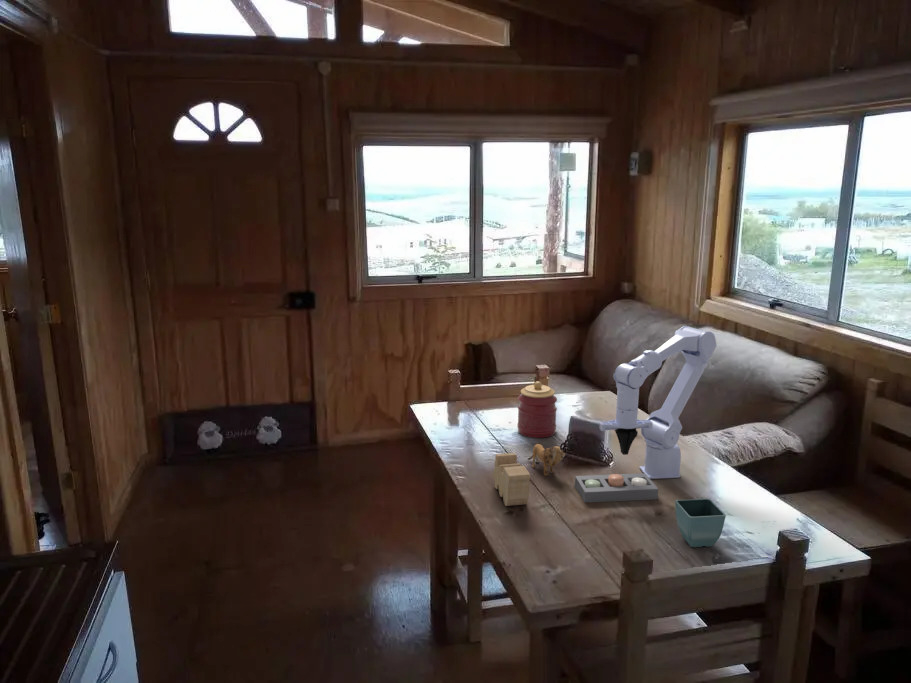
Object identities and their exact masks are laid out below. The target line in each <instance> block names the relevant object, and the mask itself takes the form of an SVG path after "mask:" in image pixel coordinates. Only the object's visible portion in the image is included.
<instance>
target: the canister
mask: <svg viewBox="0 0 911 683" xmlns="http://www.w3.org/2000/svg"><path fill="white" fill-rule="evenodd" d="M555 392H556V391H555V390H554V389H553V388H551V387H550V386H548V385H544V384H542V382H541V381H538V380H537V381H535V382H534V383H533V384H530V385H527V386H525V387H523V388H522V389H521V390H520V393H521V394H520V395H519V396H518V397H517V399H518V401H519V404H518V405H517V410H518V411H517V412H518V414H517V427H516V428H517V431H518V433H519V434H521V436H524V437H529V438H533V439H535V438H536V439H540V438H541V439H543V438H549V437H552V436H554V435H555V433H556V430H557V424H556V423H557V422H556V421H557V410H558V408H557V406H556V403H557V402H558V397H556V396H555Z"/></svg>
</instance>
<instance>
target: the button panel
mask: <svg viewBox="0 0 911 683" xmlns="http://www.w3.org/2000/svg"><path fill="white" fill-rule="evenodd" d="M617 474H618V475H621V476H623V477H624V483H623V486H617V487H610V486H609V485H608V481H609V475H610V474H595V475H594V474H593V475H575V477H574V487H575V489H576V490H577V493H578V494H579V495H580V497H581V499H582V501H583V503H606V502H626V501H630V502H631V501H648V500H653V501H654V500H658V499H659V488H658V486H657V485H656V484H655V483H654V482H653V480H652V479H650V478H649V477H648V476H647V475H646V474H645V473H643V472H640V473H620V474H619V473H617ZM633 478H643V479H645V480H646V481H647V485H640V486H633V485H632V483H631V482H632V479H633ZM590 479H592V480H597V481H599V482H600V487H594V488H586V487H585V481H586V480H590Z"/></svg>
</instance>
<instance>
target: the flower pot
mask: <svg viewBox="0 0 911 683" xmlns="http://www.w3.org/2000/svg"><path fill="white" fill-rule="evenodd" d="M674 504H675V517H676V518H675V519H676V523H677V524H676V525H677V527H678V530H679V532H680V534H681V536H682V537H683V539H684V540H685V541H686V542H687V544H688V545H689V547H691V548H703V547H702V546H706V547H712V546H714V545H715V544H716V543H717V541H718V540H719V538H720V537H721V535H722V533H723V528H724V525H725V521H726V517H727V515H726V513H725V512H724V511H723V510H722V509H720V508H719V506H717V504H716V503H715V502H713V500H712V499H711V498H696V499H695V498H693V499H676V500H674Z"/></svg>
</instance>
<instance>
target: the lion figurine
mask: <svg viewBox="0 0 911 683" xmlns="http://www.w3.org/2000/svg"><path fill="white" fill-rule="evenodd" d="M565 456H566V452H564V451H562V449H561V447H560V446H558V445H557V446H556V445H555V446H551V447H548V448H544V446H543V445H542V444H539V443H536V444H535V445H534V446H533V449H532V455H531V456H530V457H528V458H527V460H528V461H531V460H532V464H531V465H532V466H531V468H534V469H535V468H536V467H537V465H536V463H540V462H542V463H543V464H542V465H543V476H546V477H548V475H549V472H550V473H551V474H554V473H555V470H553V469H554V467H555V466H556V465H557V464H559V463H561V461H562V460H564V458H565ZM548 466H549V469H548ZM548 470H549V472H548Z"/></svg>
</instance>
